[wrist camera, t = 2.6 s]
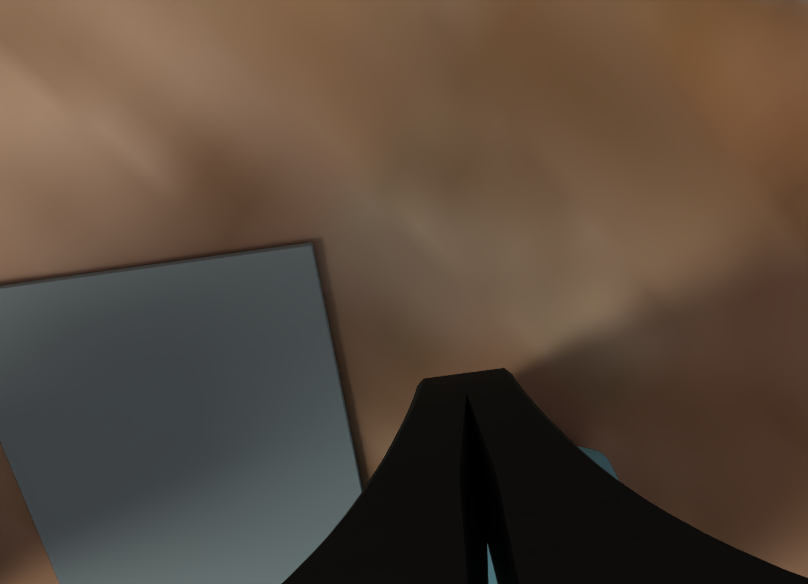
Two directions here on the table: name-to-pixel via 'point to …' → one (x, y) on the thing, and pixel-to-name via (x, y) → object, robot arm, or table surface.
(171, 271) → the mat
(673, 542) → the robot arm
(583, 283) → the table surface
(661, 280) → the table surface
